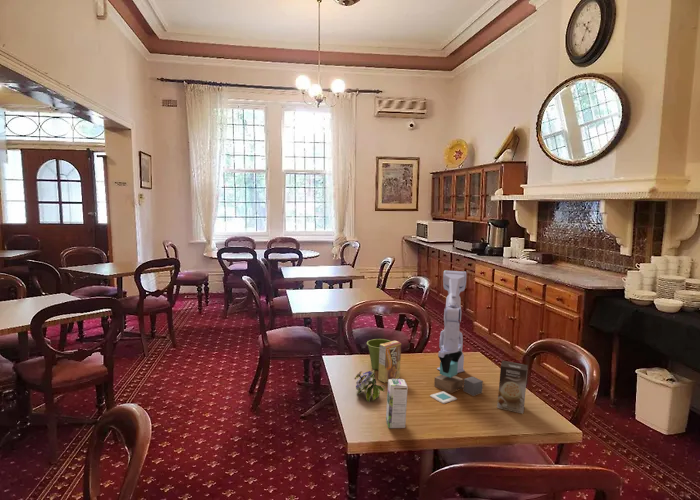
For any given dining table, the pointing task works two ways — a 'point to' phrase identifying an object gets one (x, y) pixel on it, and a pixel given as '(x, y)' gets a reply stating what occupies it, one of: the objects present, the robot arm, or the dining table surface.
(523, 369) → the coffee box
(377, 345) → the plant pot
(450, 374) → the teal cube
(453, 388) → the walnut block
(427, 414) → the dining table surface
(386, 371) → the candy box
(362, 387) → the passion flower
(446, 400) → the card
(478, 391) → the charcoal cube
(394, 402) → the syrup box
